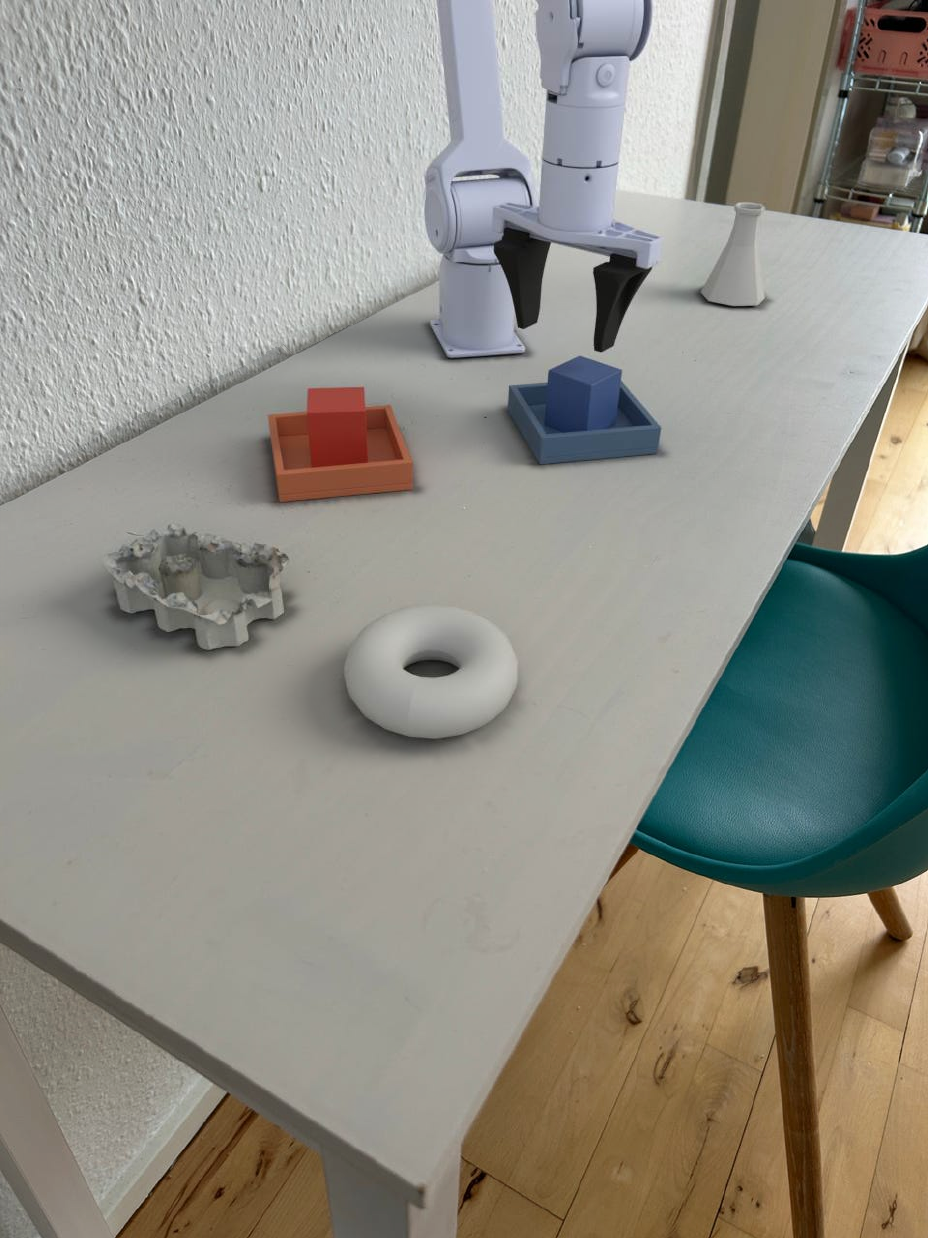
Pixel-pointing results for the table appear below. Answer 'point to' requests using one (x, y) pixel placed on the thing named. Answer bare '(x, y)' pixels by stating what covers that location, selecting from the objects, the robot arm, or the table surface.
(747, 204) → the flask
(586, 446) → the blue tray
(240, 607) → the egg carton
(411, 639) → the donut
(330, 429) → the red block
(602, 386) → the blue block
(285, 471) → the orange tray
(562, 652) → the table surface
